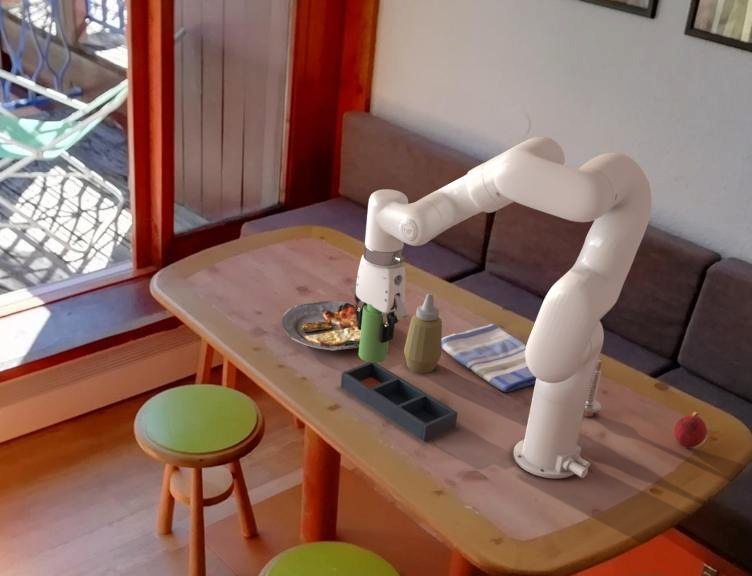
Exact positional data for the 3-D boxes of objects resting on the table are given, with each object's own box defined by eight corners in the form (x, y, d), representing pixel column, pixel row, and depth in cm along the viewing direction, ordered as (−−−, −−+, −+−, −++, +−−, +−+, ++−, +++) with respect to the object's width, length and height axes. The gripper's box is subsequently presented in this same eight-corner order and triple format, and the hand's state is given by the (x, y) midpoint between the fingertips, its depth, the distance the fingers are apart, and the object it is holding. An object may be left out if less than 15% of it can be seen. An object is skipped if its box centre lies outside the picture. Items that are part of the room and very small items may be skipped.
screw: (588, 422, 214) (569, 411, 217) (604, 415, 216) (585, 404, 220) (601, 367, 207) (581, 357, 210) (617, 360, 210) (597, 350, 213)
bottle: (392, 357, 218) (401, 282, 209) (371, 365, 215) (379, 290, 206) (373, 346, 222) (381, 272, 213) (352, 353, 219) (359, 279, 210)
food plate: (363, 303, 257) (364, 290, 256) (405, 348, 239) (407, 334, 237) (267, 316, 250) (267, 303, 249) (302, 364, 232) (303, 350, 230)
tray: (455, 429, 211) (457, 412, 209) (423, 443, 206) (426, 426, 204) (371, 376, 228) (372, 360, 226) (340, 388, 223) (341, 372, 221)
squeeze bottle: (438, 379, 228) (448, 304, 218) (400, 374, 229) (409, 300, 219) (439, 360, 234) (450, 287, 225) (403, 356, 236) (411, 283, 226)
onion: (697, 459, 204) (708, 424, 199) (667, 449, 206) (676, 415, 202) (704, 444, 208) (714, 410, 204) (673, 435, 210) (683, 401, 206)
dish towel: (493, 330, 247) (495, 319, 245) (564, 377, 229) (566, 366, 228) (434, 346, 240) (435, 335, 238) (502, 396, 222) (504, 384, 221)
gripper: (428, 264, 202) (418, 346, 212) (367, 234, 214) (360, 313, 223) (400, 274, 198) (390, 357, 208) (339, 242, 210) (333, 322, 219)
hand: (375, 333), depth 215 cm, fingers closed on bottle, 5 cm apart
